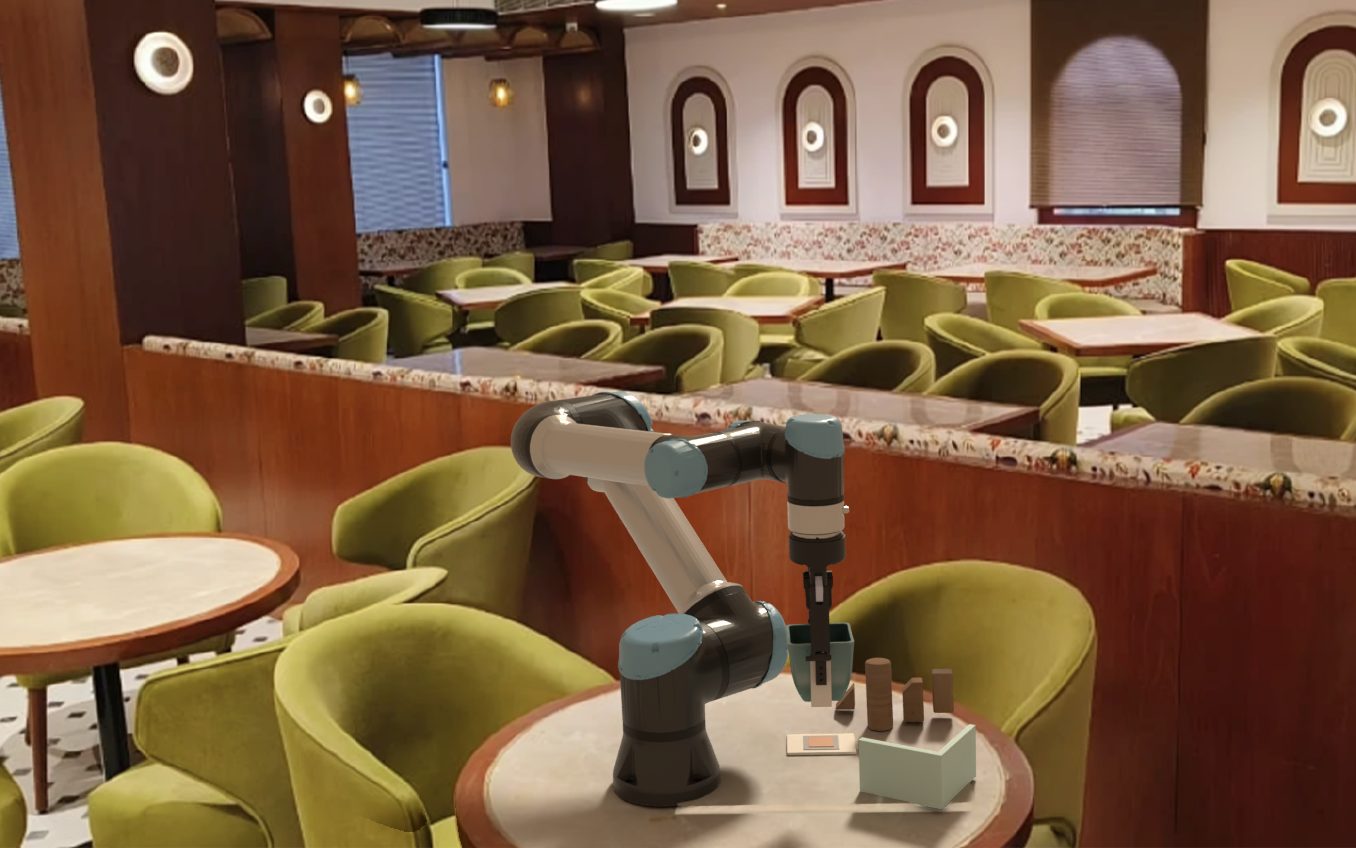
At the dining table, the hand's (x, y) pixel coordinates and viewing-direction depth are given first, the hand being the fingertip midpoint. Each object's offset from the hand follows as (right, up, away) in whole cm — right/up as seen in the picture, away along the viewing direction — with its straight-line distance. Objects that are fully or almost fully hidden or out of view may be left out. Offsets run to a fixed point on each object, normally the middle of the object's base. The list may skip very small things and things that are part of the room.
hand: (820, 693), depth 198 cm
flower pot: (0, -1, 0) cm, 1 cm away
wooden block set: (+14, -9, +25) cm, 30 cm away
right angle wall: (+14, -13, +3) cm, 20 cm away
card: (+2, -11, +18) cm, 21 cm away
